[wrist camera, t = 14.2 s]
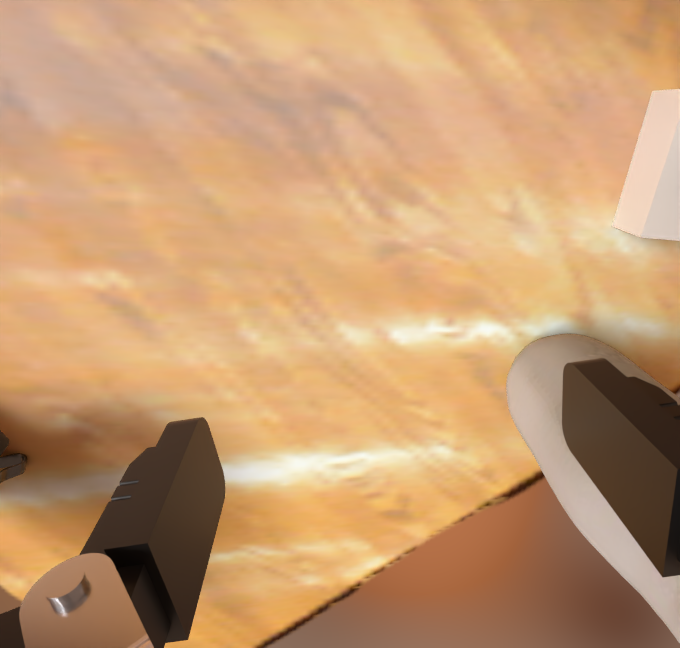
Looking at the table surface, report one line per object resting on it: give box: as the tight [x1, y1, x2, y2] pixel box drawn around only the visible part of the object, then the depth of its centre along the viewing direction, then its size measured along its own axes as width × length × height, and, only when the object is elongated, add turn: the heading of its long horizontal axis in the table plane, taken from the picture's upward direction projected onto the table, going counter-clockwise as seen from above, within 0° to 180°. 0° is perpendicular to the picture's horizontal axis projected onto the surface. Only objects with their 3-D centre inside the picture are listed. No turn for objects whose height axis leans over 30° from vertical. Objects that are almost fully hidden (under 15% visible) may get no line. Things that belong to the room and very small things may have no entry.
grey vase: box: [506, 334, 680, 643], centre depth 32 cm, size 10×10×28 cm
